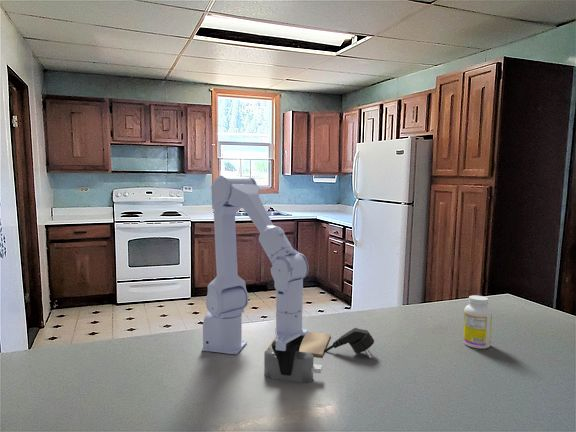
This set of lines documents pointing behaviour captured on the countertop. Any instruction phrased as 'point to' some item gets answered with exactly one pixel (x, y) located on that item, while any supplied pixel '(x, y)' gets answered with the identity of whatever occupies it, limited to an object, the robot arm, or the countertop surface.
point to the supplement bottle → (477, 323)
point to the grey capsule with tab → (300, 370)
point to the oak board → (313, 343)
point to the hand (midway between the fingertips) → (288, 369)
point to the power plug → (355, 341)
